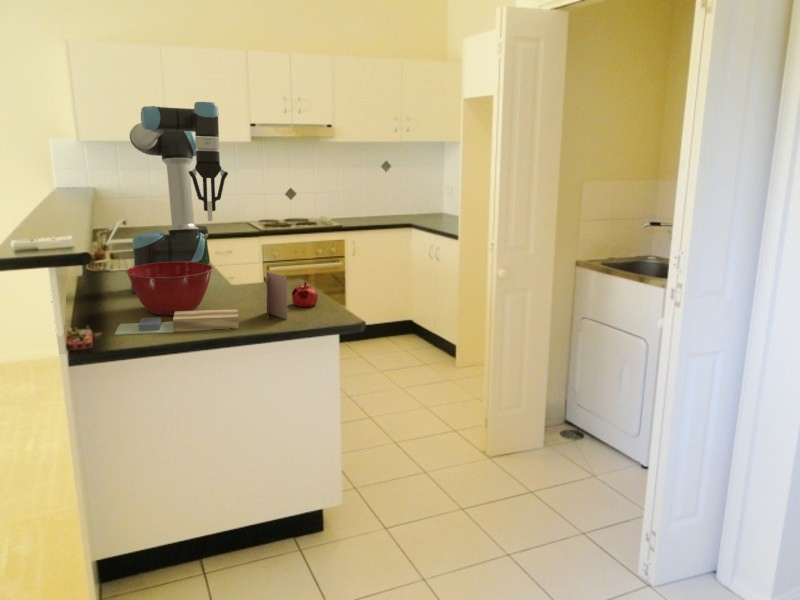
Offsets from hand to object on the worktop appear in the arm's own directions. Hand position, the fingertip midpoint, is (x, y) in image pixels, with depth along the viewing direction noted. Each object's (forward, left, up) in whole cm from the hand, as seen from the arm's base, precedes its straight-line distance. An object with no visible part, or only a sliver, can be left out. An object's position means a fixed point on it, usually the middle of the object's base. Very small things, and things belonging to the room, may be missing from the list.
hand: (210, 220), depth 216 cm
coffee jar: (-92, -7, -33) cm, 98 cm away
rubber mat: (+18, -21, -32) cm, 43 cm away
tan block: (+18, -2, -32) cm, 37 cm away
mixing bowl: (-3, -14, -33) cm, 36 cm away
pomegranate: (-5, +33, -33) cm, 47 cm away
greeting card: (+10, +21, -33) cm, 40 cm away
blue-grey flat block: (+18, -19, -30) cm, 40 cm away
